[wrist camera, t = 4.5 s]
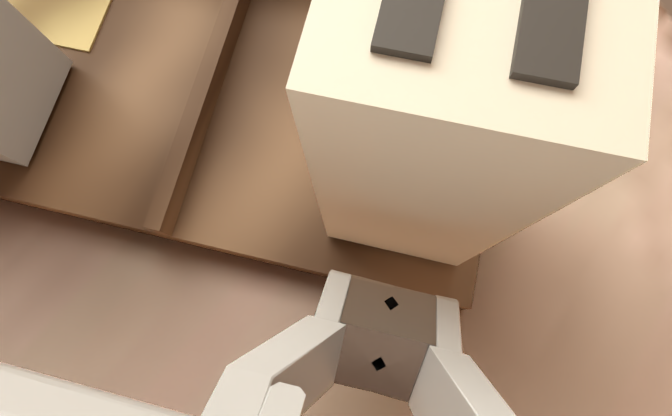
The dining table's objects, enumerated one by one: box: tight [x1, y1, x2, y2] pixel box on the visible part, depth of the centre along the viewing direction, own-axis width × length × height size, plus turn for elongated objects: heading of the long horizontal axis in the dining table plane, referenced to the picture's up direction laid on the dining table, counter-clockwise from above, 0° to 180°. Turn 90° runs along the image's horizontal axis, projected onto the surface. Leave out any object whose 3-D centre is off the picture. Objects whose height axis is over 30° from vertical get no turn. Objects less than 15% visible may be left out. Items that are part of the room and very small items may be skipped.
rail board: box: [0, 0, 480, 310], centre depth 17 cm, size 22×12×4 cm, turn 76°
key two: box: [285, 0, 659, 266], centre depth 11 cm, size 4×5×10 cm
